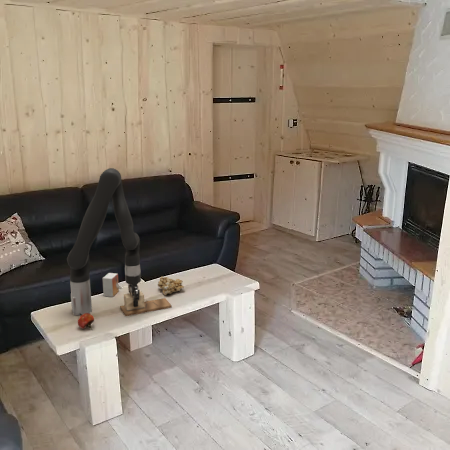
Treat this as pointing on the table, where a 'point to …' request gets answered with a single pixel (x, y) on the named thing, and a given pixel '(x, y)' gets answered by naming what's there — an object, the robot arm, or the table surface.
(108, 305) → the table surface
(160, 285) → the mineral formation
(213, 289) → the table surface
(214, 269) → the table surface
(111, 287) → the small box
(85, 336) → the table surface
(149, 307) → the board
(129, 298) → the sanding block
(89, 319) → the pomegranate
